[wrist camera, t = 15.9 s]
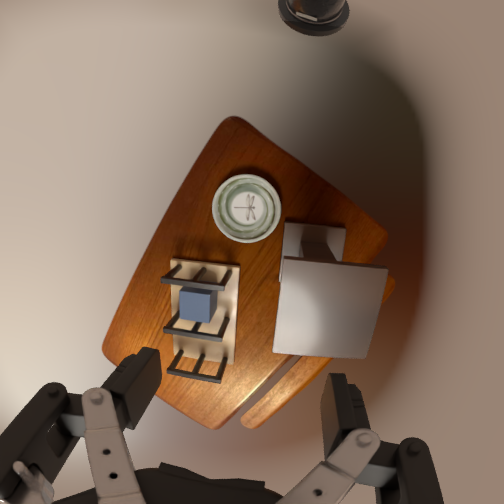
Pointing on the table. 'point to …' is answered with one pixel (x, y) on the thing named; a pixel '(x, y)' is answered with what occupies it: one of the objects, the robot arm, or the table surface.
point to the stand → (325, 295)
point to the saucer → (246, 208)
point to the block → (197, 304)
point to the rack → (198, 333)
